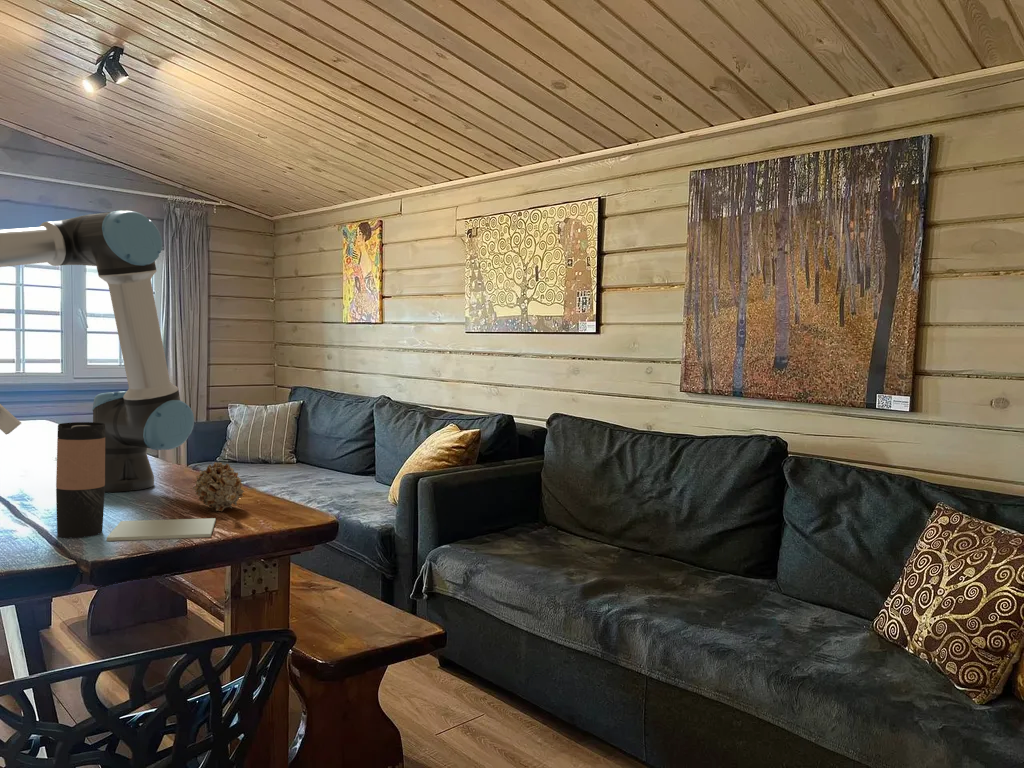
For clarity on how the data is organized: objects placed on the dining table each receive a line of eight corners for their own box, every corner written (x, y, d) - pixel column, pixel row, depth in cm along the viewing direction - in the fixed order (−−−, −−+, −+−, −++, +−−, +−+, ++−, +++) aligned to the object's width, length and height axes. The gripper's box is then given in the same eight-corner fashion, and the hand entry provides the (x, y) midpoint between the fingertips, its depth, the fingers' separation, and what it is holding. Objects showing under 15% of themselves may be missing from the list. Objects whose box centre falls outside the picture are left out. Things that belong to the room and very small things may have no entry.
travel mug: (100, 526, 139) (102, 421, 138) (107, 535, 133) (109, 425, 132) (53, 531, 134) (55, 422, 134) (57, 540, 128) (59, 426, 128)
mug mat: (106, 540, 129) (106, 537, 129) (120, 524, 142) (120, 521, 142) (210, 536, 135) (210, 533, 135) (215, 521, 147) (215, 518, 147)
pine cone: (185, 504, 161) (186, 459, 161) (230, 500, 167) (231, 457, 166) (214, 525, 143) (215, 475, 143) (263, 520, 149) (264, 471, 149)
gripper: (-100, 344, 129) (8, 439, 135) (-139, 343, 117) (-18, 448, 122) (-63, 315, 131) (42, 411, 136) (-98, 311, 118) (19, 417, 124)
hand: (13, 428), depth 129 cm, fingers closed
